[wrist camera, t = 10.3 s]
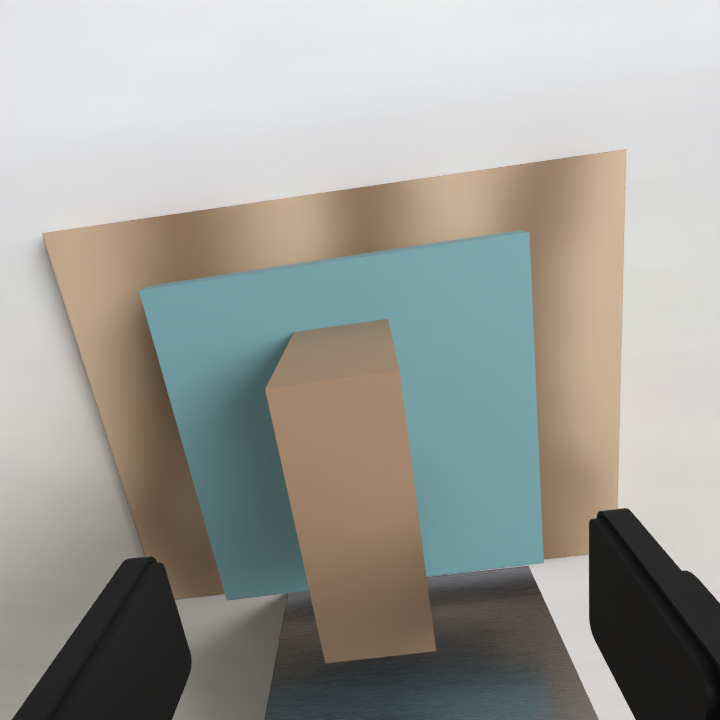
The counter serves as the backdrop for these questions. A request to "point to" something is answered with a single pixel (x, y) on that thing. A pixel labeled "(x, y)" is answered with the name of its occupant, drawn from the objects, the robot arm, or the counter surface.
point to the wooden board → (351, 237)
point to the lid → (360, 427)
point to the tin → (439, 661)
